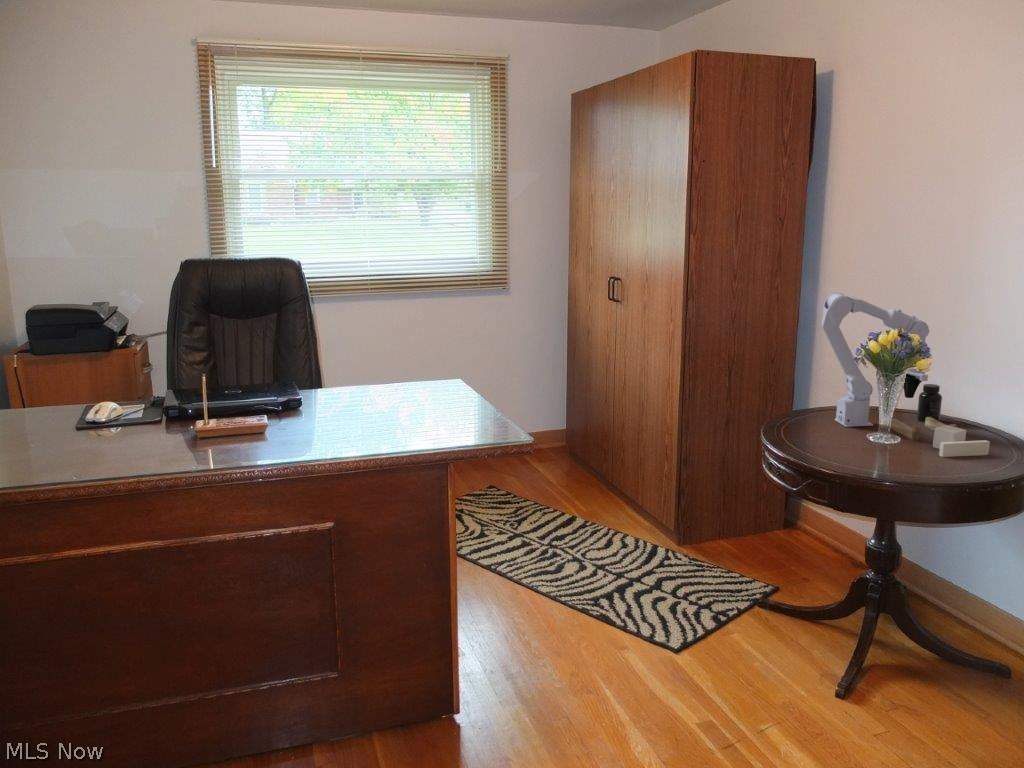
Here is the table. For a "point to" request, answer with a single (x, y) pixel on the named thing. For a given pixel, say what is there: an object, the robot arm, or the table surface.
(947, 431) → the beige cube
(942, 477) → the table surface
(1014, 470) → the table surface
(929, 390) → the supplement bottle
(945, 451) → the board
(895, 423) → the chute
